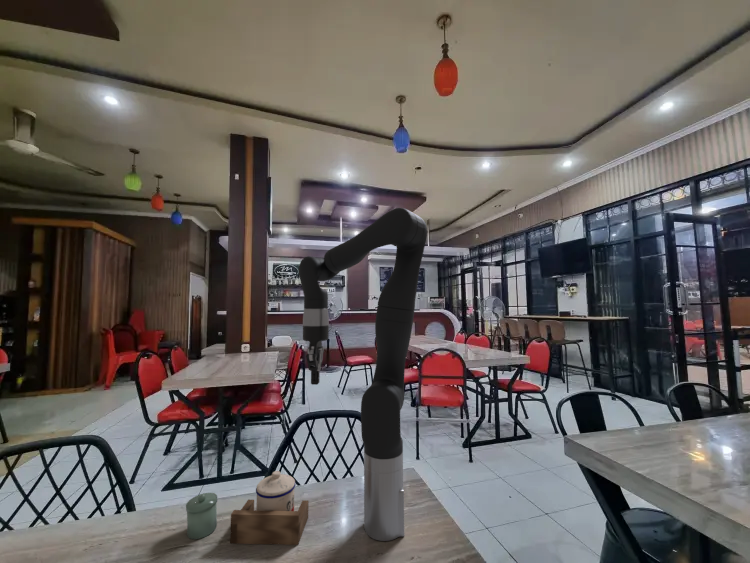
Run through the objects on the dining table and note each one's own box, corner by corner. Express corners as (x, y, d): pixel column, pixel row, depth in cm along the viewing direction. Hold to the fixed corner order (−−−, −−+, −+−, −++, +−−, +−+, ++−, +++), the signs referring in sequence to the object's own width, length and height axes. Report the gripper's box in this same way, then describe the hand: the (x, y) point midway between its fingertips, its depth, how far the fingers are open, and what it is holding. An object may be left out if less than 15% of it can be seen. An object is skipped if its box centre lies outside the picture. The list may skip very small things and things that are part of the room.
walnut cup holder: (308, 517, 78) (308, 491, 79) (298, 544, 70) (298, 515, 70) (247, 516, 79) (248, 491, 79) (230, 543, 70) (230, 514, 71)
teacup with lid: (290, 536, 72) (290, 482, 73) (248, 537, 72) (250, 483, 73) (300, 504, 84) (301, 457, 85) (265, 505, 84) (266, 458, 85)
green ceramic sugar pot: (219, 517, 78) (219, 484, 79) (214, 535, 72) (214, 499, 73) (190, 524, 76) (190, 490, 77) (182, 543, 70) (182, 505, 71)
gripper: (324, 325, 89) (323, 389, 87) (332, 323, 102) (331, 379, 100) (297, 325, 89) (296, 389, 87) (308, 323, 102) (307, 378, 101)
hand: (315, 383), depth 94 cm, fingers closed
